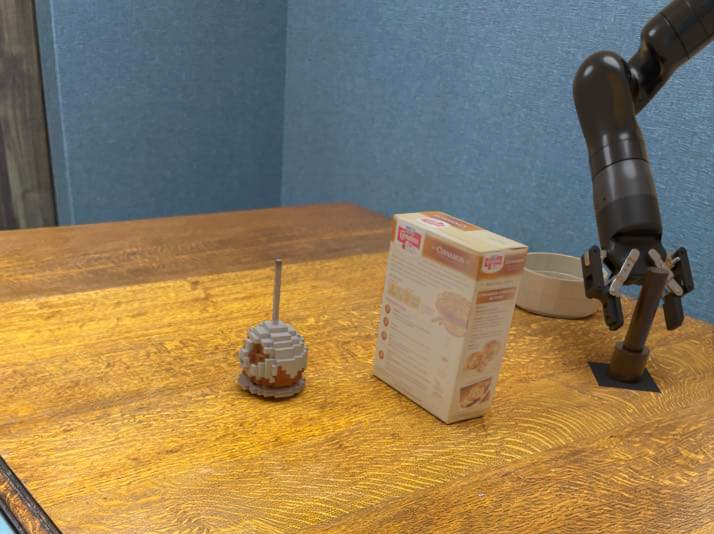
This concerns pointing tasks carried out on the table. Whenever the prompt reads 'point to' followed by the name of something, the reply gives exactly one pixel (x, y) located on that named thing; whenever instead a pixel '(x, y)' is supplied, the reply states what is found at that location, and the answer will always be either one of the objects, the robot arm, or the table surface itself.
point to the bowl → (555, 287)
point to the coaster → (606, 381)
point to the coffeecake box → (447, 312)
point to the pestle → (638, 330)
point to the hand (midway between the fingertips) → (646, 328)
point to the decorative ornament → (273, 354)
